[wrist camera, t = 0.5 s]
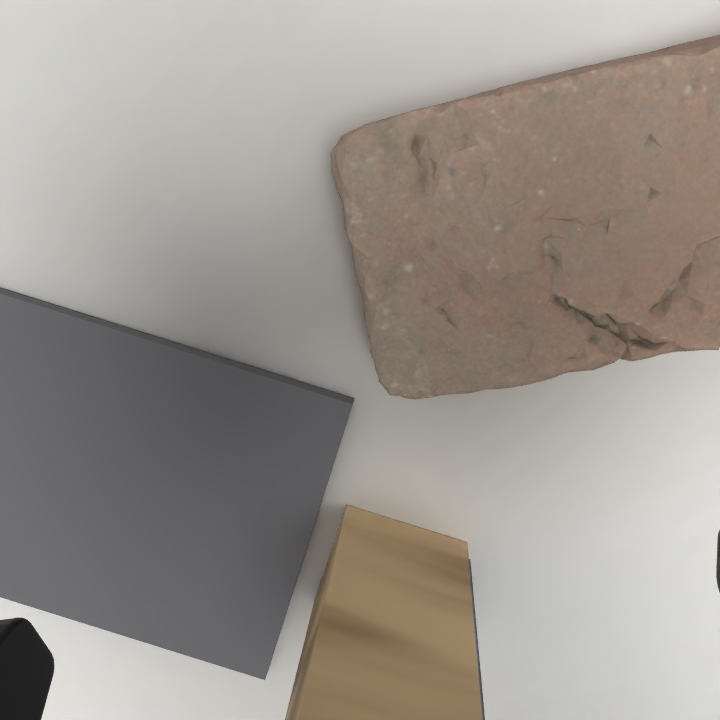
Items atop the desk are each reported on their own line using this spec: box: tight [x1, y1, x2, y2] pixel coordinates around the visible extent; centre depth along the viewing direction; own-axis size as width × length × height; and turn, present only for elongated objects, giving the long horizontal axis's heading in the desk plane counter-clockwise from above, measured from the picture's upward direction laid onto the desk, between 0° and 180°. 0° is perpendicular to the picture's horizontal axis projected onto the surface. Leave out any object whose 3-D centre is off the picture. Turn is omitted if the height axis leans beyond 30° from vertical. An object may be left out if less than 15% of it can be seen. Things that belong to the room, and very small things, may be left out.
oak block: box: [285, 505, 485, 720], centre depth 20 cm, size 5×5×12 cm
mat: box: [0, 288, 354, 680], centre depth 26 cm, size 14×16×1 cm
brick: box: [331, 35, 720, 399], centre depth 19 cm, size 17×8×5 cm, turn 103°
